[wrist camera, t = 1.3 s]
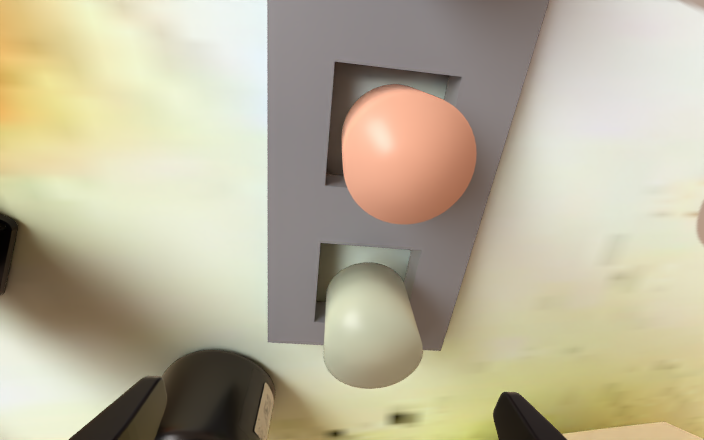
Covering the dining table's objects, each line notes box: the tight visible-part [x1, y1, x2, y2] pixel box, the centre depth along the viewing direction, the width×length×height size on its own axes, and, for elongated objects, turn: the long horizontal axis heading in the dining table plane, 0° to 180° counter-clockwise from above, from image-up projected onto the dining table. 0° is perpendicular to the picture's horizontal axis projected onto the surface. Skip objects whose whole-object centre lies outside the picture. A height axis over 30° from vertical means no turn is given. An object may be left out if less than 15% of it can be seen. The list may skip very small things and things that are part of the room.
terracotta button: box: [342, 84, 477, 224], centre depth 14 cm, size 5×5×4 cm
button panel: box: [267, 0, 549, 351], centre depth 17 cm, size 29×12×2 cm, turn 174°
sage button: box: [324, 263, 423, 389], centre depth 18 cm, size 5×5×4 cm
